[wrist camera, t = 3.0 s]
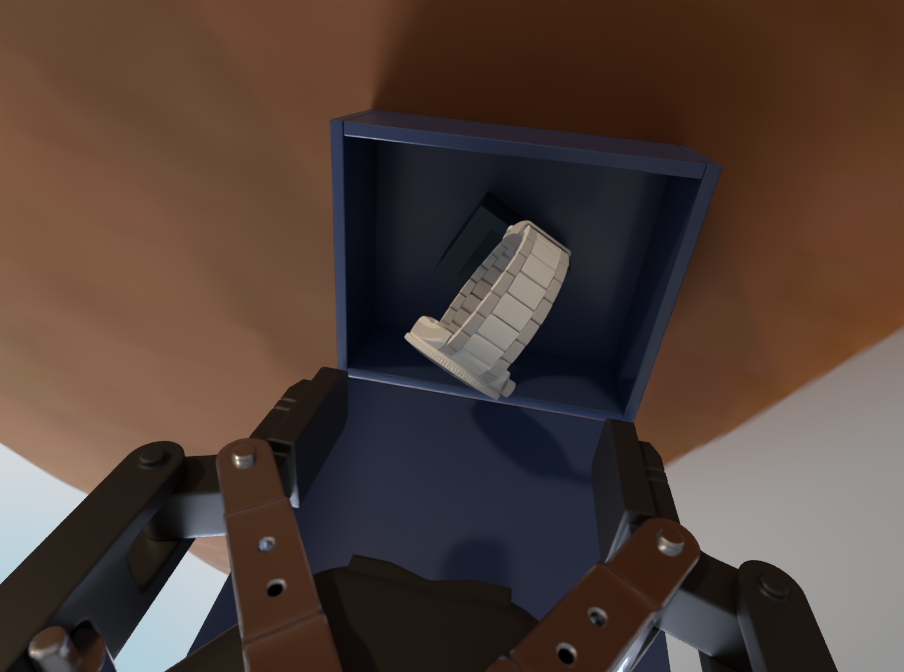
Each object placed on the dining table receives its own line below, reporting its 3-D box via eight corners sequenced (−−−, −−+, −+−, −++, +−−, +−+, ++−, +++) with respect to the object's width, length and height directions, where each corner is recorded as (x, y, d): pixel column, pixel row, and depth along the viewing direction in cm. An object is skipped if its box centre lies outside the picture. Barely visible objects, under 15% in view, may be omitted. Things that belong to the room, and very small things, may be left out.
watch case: (369, 109, 26) (329, 119, 21) (687, 145, 24) (723, 165, 19) (368, 328, 32) (337, 374, 27) (618, 368, 31) (632, 425, 26)
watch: (426, 278, 29) (368, 380, 20) (507, 162, 25) (485, 221, 16) (501, 330, 30) (481, 453, 21) (591, 226, 26) (618, 318, 17)
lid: (181, 662, 16) (215, 702, 19) (688, 784, 15) (641, 807, 17) (334, 373, 27) (341, 427, 30) (635, 426, 25) (612, 477, 28)
